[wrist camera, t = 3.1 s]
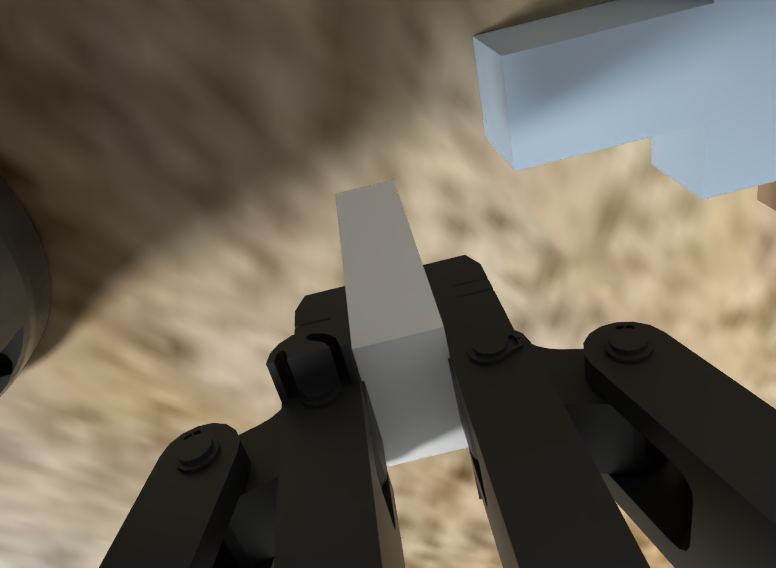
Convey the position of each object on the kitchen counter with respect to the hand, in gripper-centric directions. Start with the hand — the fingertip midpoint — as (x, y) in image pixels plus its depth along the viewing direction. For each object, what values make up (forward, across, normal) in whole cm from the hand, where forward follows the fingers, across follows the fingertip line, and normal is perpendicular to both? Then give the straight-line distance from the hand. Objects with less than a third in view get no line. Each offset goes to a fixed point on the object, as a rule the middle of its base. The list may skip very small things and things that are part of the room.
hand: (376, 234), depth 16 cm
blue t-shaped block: (+10, +10, 0) cm, 14 cm away
